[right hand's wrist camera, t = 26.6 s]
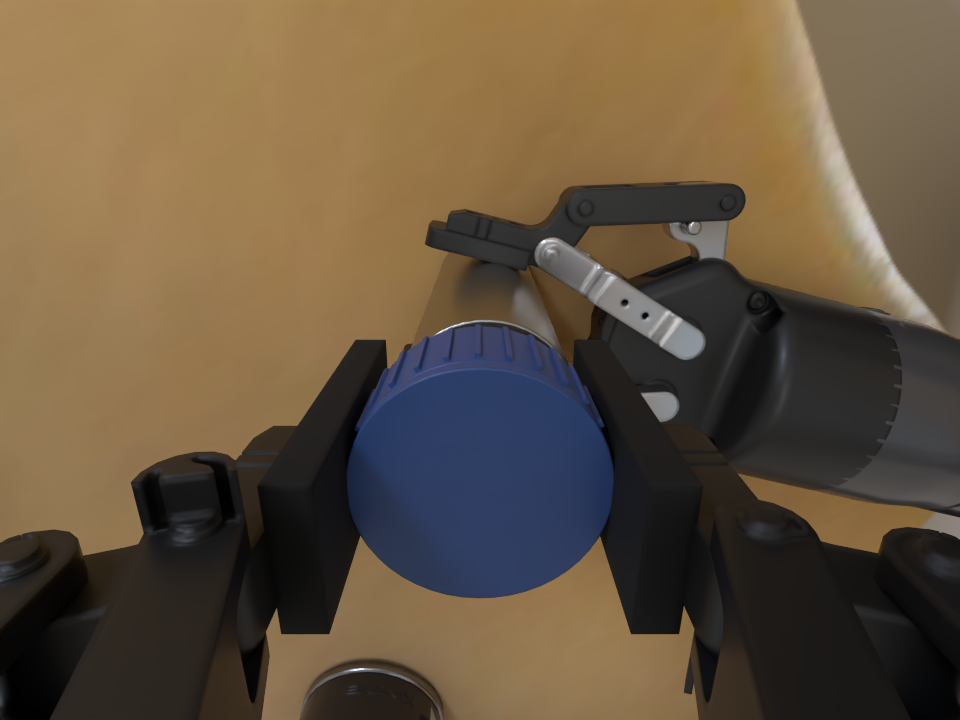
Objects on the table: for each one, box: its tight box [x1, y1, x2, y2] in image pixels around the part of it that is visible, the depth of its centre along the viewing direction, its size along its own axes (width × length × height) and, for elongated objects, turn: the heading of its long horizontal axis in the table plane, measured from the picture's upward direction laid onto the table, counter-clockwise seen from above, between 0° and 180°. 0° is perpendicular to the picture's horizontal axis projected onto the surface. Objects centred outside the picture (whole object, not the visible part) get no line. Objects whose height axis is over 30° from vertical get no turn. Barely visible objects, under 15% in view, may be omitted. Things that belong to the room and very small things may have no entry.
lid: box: [346, 324, 614, 598], centre depth 11 cm, size 5×5×2 cm
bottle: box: [411, 252, 569, 366], centre depth 19 cm, size 4×4×17 cm
